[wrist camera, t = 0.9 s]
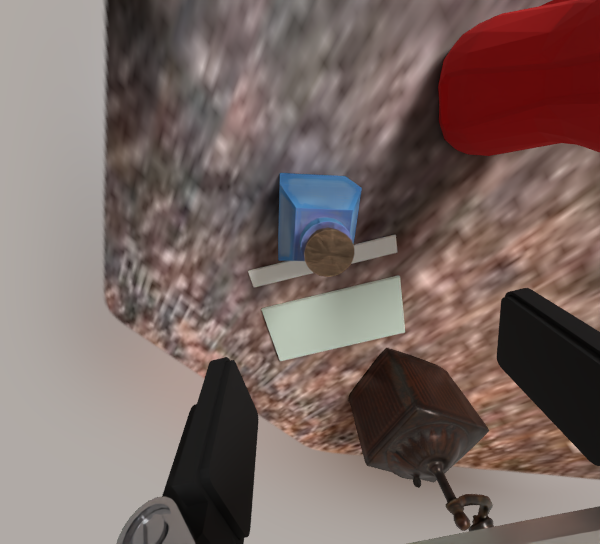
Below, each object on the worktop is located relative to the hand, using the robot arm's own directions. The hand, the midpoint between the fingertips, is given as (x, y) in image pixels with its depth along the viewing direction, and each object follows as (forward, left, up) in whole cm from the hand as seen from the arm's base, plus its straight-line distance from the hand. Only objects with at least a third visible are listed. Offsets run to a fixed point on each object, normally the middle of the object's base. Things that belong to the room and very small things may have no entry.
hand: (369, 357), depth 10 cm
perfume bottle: (0, 0, -21) cm, 21 cm away
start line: (+6, 0, -21) cm, 22 cm away
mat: (+14, 0, -21) cm, 25 cm away
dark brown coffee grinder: (+29, +8, -21) cm, 37 cm away
